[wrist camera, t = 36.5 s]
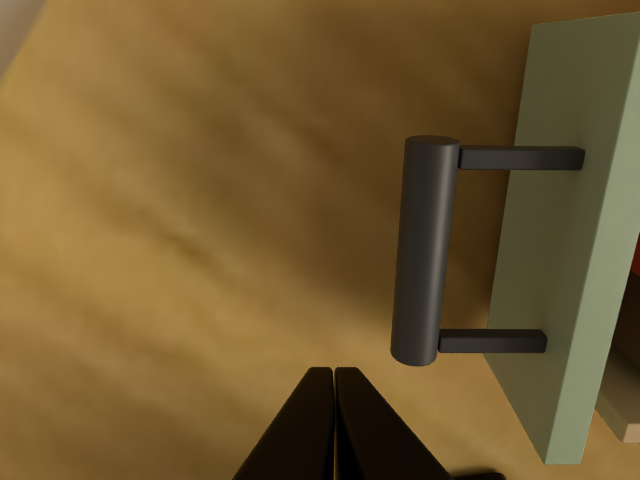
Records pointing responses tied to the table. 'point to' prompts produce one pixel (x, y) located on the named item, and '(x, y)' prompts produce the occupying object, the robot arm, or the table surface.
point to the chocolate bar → (630, 315)
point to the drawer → (542, 238)
